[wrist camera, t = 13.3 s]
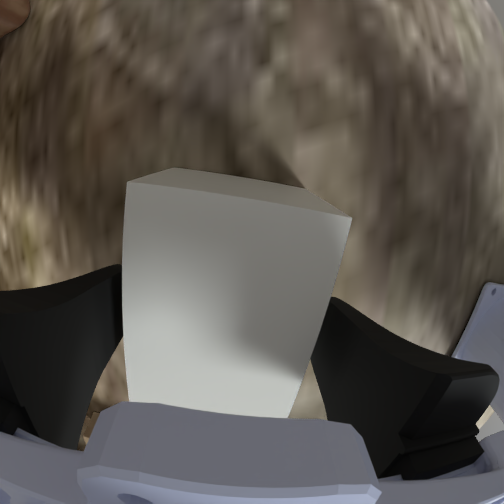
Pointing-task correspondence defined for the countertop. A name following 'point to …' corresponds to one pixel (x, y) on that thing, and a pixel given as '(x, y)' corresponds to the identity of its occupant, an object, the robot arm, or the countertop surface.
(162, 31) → the countertop surface
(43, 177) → the countertop surface
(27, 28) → the countertop surface
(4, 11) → the cupcake
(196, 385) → the white rectangular block
